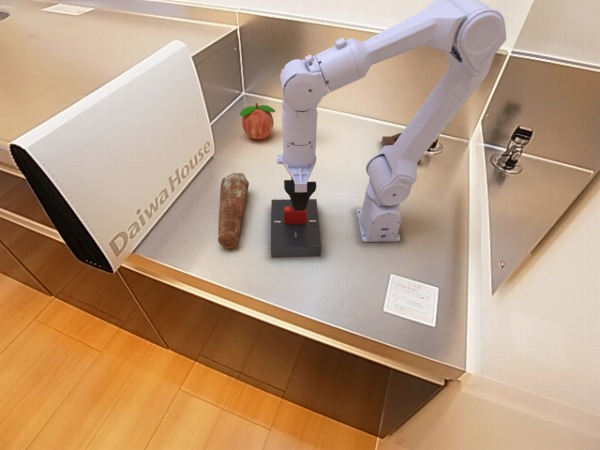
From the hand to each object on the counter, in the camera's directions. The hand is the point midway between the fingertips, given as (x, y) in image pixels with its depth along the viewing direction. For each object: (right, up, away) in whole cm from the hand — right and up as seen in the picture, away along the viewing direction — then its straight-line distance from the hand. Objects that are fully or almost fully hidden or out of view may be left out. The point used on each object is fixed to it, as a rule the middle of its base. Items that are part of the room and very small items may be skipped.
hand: (298, 196), depth 72 cm
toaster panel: (-1, -7, +7) cm, 10 cm away
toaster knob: (-1, -5, +4) cm, 7 cm away
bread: (-14, -4, +9) cm, 17 cm away
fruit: (-11, +19, +32) cm, 39 cm away
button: (+27, +16, +24) cm, 40 cm away
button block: (+27, +14, +27) cm, 41 cm away
